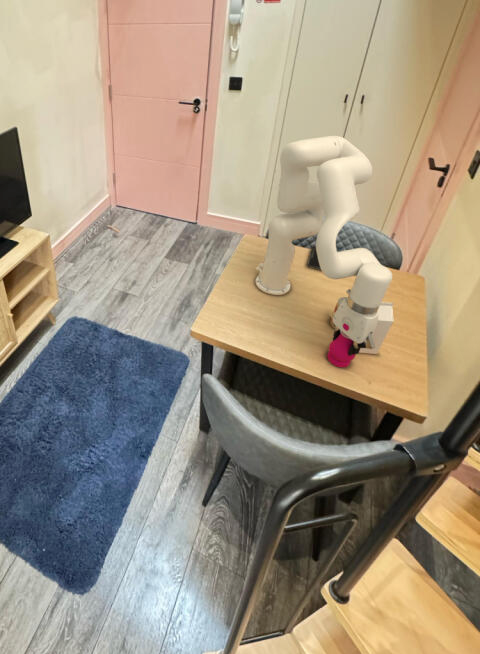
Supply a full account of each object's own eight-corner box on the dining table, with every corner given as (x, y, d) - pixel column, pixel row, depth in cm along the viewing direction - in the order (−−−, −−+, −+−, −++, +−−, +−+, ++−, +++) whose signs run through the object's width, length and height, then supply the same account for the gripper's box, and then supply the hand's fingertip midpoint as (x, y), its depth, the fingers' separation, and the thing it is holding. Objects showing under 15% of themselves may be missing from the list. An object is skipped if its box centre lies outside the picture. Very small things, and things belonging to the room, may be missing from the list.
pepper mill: (320, 351, 129) (337, 307, 117) (342, 349, 129) (361, 304, 117) (333, 370, 123) (353, 325, 111) (356, 367, 123) (378, 322, 112)
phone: (332, 250, 169) (328, 270, 159) (332, 252, 170) (327, 272, 159) (312, 245, 173) (306, 264, 162) (311, 247, 173) (306, 266, 163)
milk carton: (377, 354, 126) (398, 311, 115) (352, 352, 128) (371, 309, 117) (369, 337, 132) (388, 295, 121) (345, 335, 133) (362, 293, 123)
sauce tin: (325, 321, 139) (332, 300, 133) (340, 315, 141) (348, 294, 135) (340, 334, 134) (349, 313, 128) (356, 328, 135) (365, 307, 130)
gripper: (328, 288, 118) (313, 330, 128) (379, 328, 104) (358, 372, 114) (348, 281, 119) (332, 323, 130) (401, 320, 106) (378, 363, 116)
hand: (344, 346), depth 122 cm, fingers closed on pepper mill, 5 cm apart
